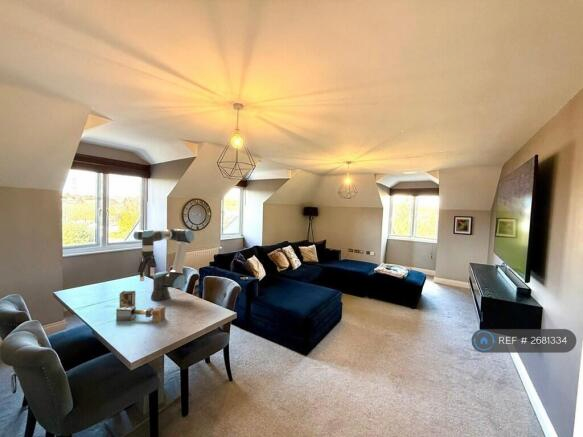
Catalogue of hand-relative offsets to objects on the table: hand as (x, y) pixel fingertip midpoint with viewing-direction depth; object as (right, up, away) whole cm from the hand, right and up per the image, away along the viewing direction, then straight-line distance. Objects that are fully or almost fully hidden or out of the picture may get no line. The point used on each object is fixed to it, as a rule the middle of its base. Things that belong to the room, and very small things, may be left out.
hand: (147, 278), depth 184 cm
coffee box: (-18, -28, +5) cm, 34 cm away
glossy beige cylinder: (+3, -26, -6) cm, 27 cm away
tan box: (+12, -30, -5) cm, 32 cm away
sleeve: (-12, -29, -6) cm, 32 cm away
